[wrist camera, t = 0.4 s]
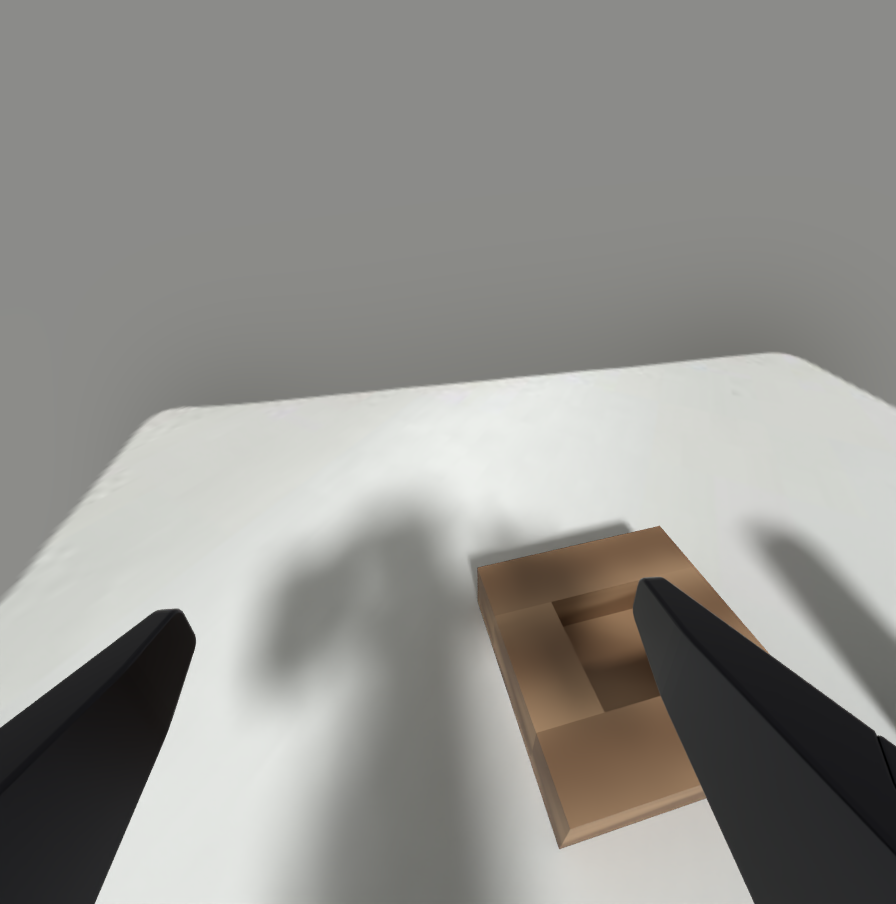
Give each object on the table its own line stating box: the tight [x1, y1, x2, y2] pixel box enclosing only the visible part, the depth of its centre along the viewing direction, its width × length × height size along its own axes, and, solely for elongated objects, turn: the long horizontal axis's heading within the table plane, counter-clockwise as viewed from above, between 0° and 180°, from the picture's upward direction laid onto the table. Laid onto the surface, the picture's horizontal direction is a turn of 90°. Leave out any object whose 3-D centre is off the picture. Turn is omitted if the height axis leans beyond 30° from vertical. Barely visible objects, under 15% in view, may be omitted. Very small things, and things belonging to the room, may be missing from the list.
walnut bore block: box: [477, 526, 769, 849], centre depth 22 cm, size 12×12×4 cm
